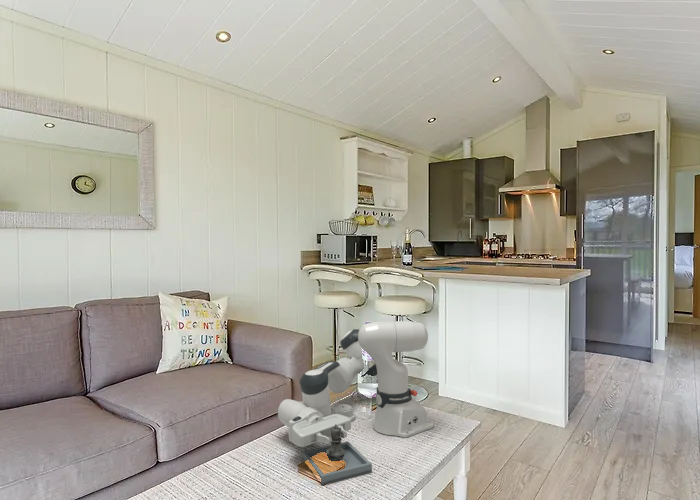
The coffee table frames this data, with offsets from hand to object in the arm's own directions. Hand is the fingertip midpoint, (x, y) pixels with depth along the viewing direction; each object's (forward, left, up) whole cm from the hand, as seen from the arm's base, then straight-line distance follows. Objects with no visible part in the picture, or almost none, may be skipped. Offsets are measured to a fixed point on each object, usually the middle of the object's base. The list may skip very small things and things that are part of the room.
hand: (337, 438), depth 134 cm
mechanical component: (-17, -33, -9) cm, 38 cm away
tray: (0, -1, -9) cm, 9 cm away
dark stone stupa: (0, -1, -8) cm, 8 cm away
